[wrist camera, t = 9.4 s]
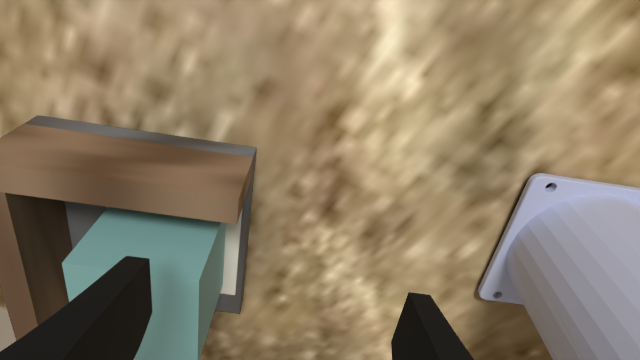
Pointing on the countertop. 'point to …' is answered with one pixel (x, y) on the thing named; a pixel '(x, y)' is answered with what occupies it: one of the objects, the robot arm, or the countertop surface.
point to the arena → (108, 201)
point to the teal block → (158, 273)
